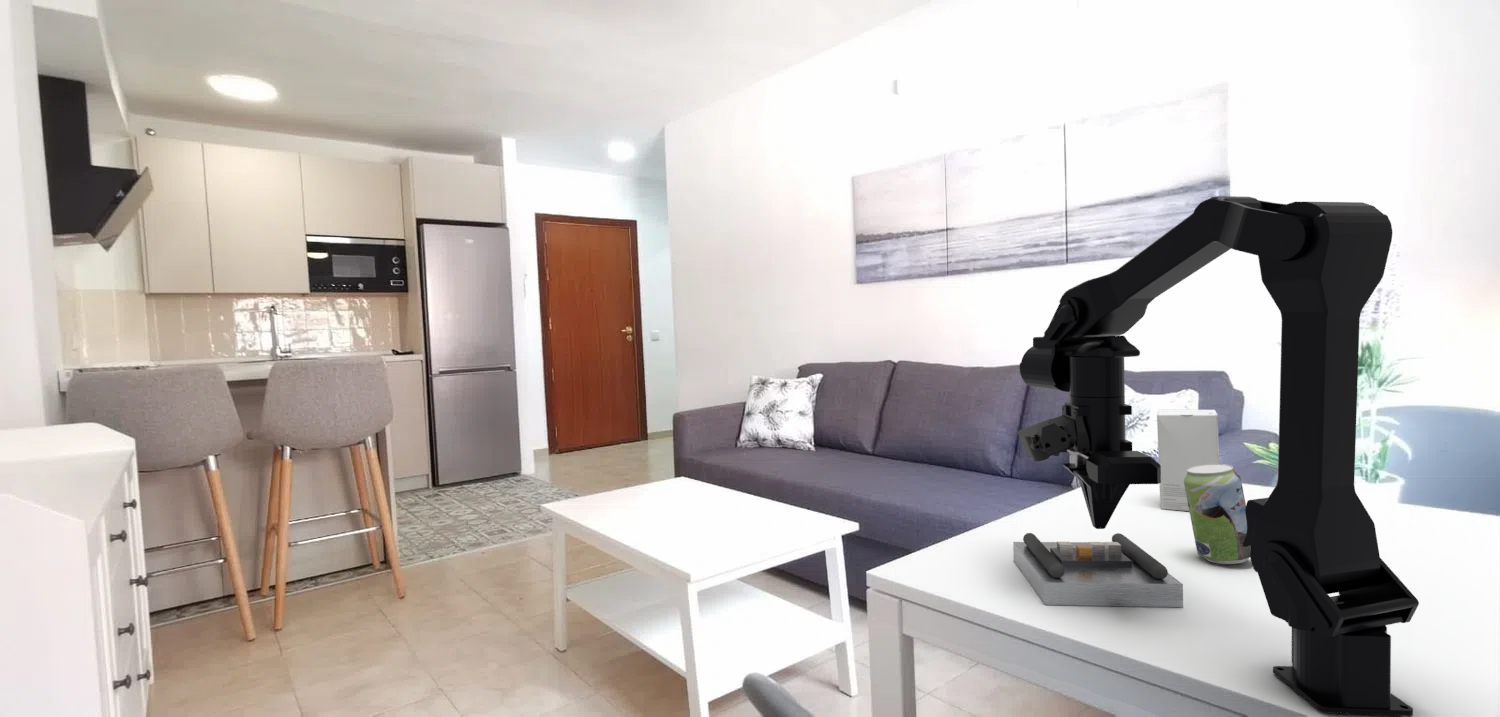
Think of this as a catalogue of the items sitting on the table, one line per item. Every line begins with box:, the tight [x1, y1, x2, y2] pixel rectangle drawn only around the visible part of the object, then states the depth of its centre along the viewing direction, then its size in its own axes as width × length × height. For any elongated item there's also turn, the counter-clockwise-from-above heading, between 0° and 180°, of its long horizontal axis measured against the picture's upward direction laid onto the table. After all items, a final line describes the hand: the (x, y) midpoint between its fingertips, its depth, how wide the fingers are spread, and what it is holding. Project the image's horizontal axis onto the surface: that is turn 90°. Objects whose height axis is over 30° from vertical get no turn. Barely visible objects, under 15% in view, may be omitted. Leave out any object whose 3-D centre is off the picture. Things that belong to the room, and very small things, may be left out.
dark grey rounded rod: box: [1111, 532, 1169, 579], centre depth 80 cm, size 13×2×2 cm, turn 172°
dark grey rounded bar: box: [1022, 532, 1065, 578], centre depth 81 cm, size 13×2×2 cm, turn 172°
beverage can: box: [1184, 463, 1250, 565], centre depth 86 cm, size 6×7×12 cm
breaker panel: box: [1012, 541, 1184, 608], centre depth 81 cm, size 14×14×4 cm
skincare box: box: [1156, 408, 1220, 512], centre depth 110 cm, size 8×7×16 cm
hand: (1098, 528), depth 80 cm, fingers closed
